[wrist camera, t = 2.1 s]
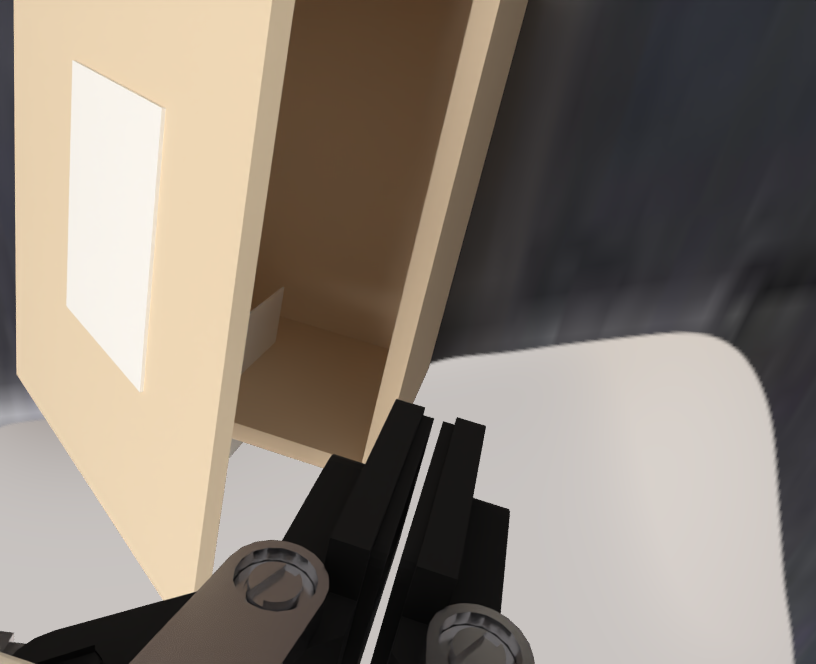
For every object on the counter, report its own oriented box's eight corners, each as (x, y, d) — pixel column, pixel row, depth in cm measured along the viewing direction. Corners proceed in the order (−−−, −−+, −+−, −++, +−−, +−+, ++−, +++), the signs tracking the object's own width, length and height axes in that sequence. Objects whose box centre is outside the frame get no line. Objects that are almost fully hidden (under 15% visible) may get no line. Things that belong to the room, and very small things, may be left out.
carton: (531, -13, 31) (514, -58, 20) (412, 427, 40) (357, 559, 29) (208, -90, 33) (30, -171, 22) (167, 349, 42) (29, 448, 31)
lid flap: (321, -185, 12) (293, -199, 11) (204, 630, 20) (184, 639, 19) (30, -171, 22) (8, -178, 21) (29, 372, 30) (14, 374, 29)
